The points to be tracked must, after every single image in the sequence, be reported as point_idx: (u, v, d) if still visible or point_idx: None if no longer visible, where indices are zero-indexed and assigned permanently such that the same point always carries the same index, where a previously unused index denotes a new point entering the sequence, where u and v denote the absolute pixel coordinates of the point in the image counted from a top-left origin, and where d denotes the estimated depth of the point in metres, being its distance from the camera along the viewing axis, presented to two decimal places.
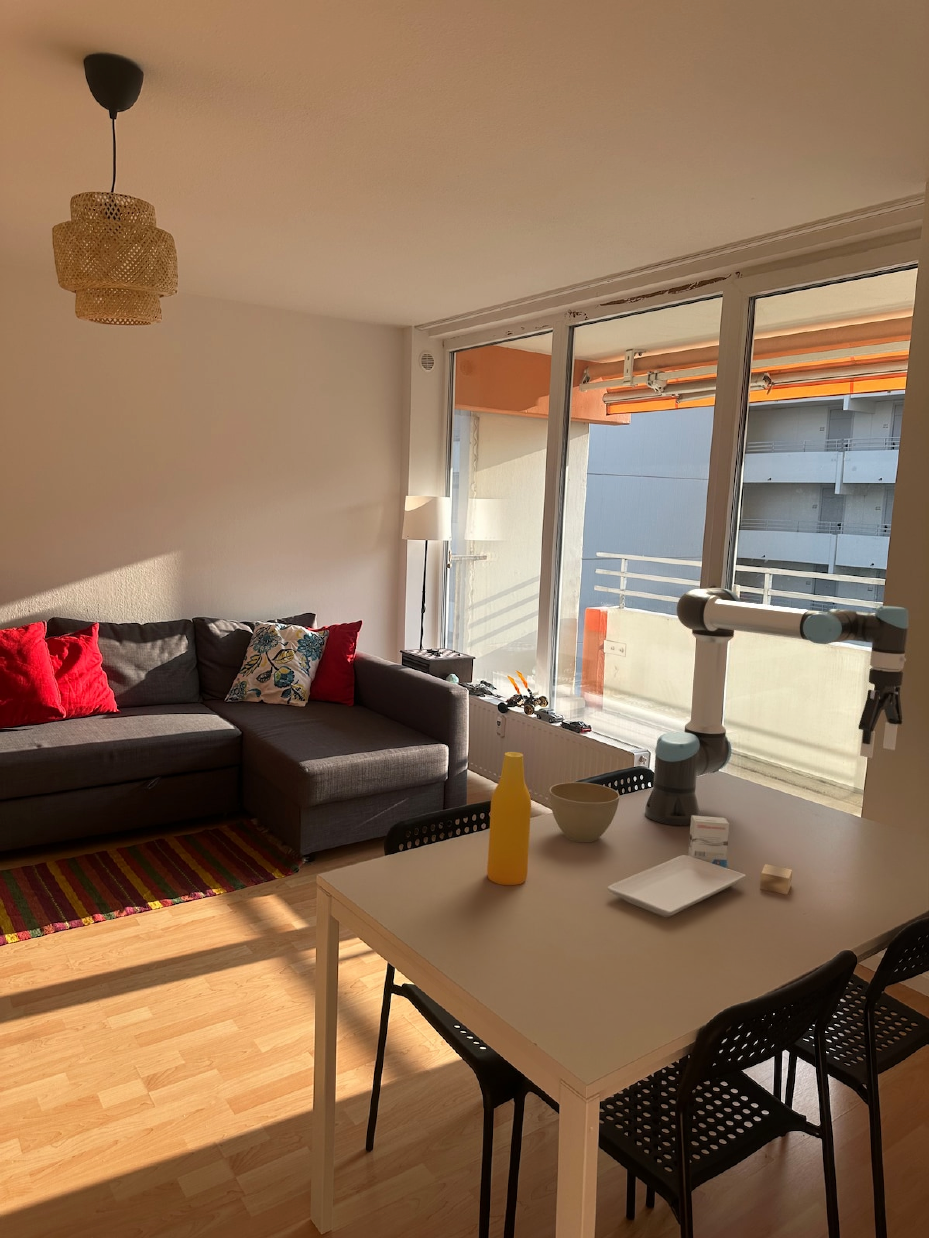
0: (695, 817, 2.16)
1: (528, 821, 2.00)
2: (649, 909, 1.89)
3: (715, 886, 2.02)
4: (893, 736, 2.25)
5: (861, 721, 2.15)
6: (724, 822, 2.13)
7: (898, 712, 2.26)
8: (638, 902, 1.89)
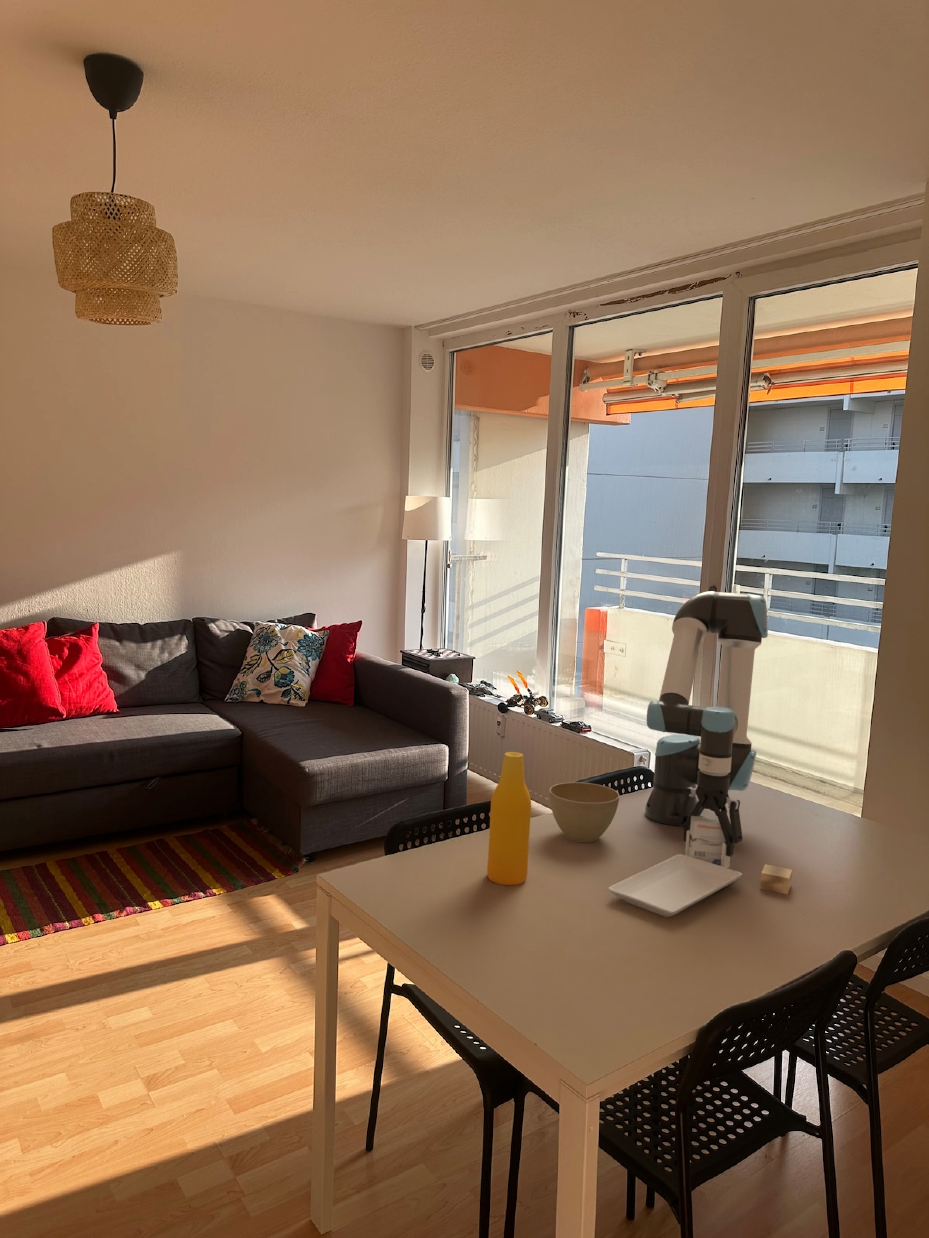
0: (695, 817, 2.16)
1: (528, 821, 2.00)
2: (651, 909, 1.89)
3: (713, 885, 2.02)
4: None
5: None
6: None
7: None
8: (640, 903, 1.88)
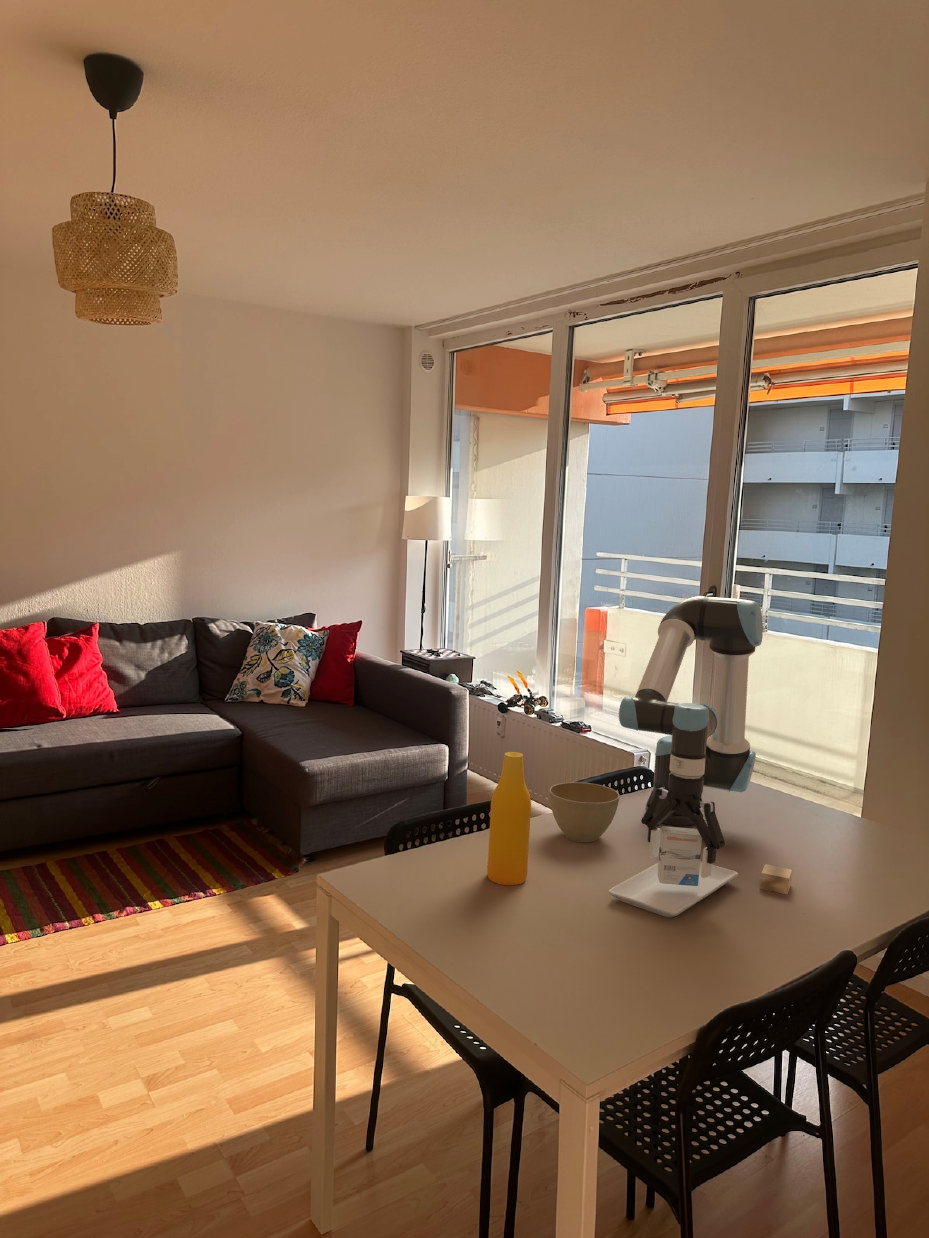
0: (665, 828, 1.99)
1: (528, 821, 2.00)
2: (652, 911, 1.89)
3: (710, 885, 2.03)
4: None
5: None
6: (696, 833, 1.96)
7: None
8: (641, 905, 1.88)
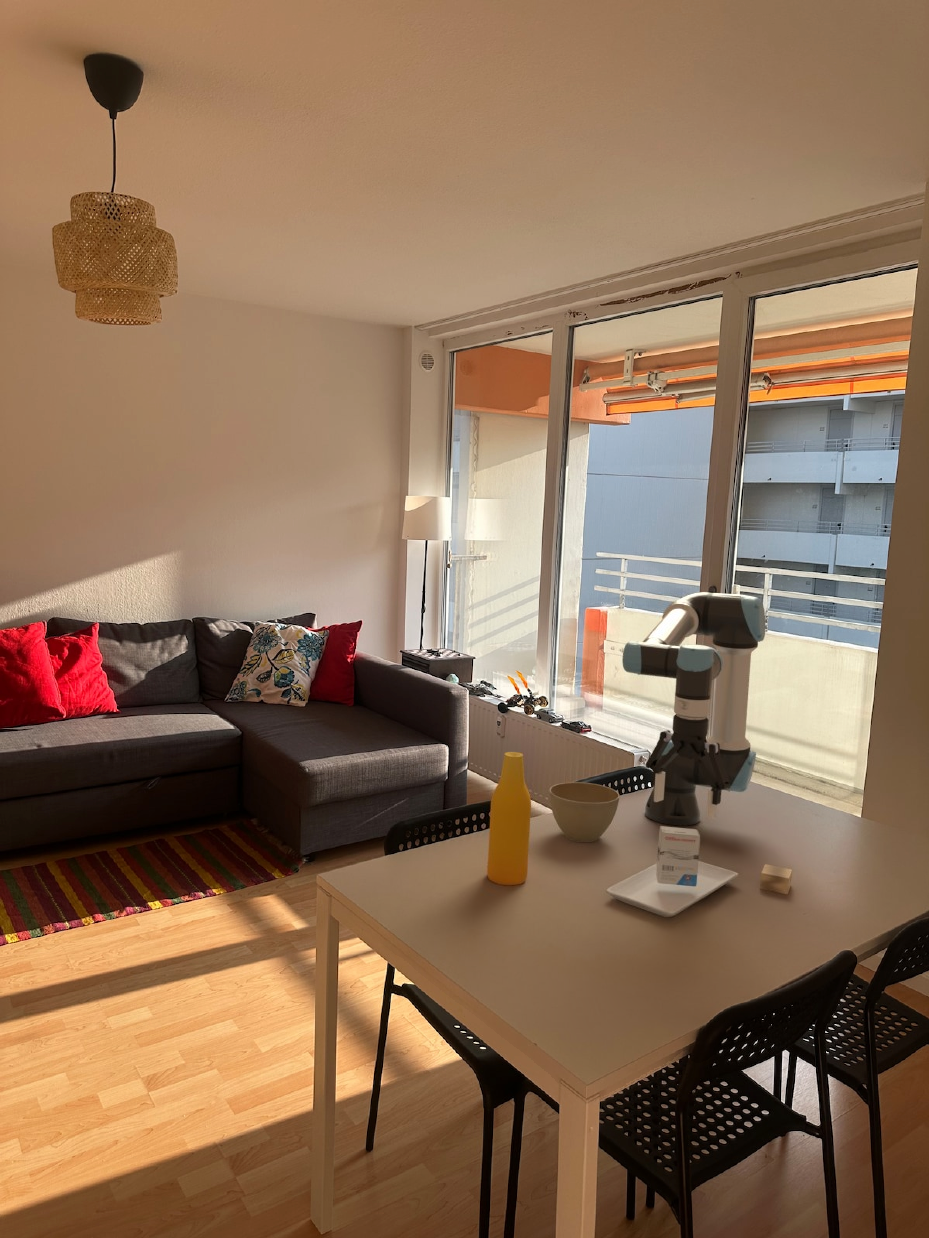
0: (663, 828, 1.99)
1: (528, 821, 2.00)
2: None
3: (709, 885, 2.03)
4: None
5: None
6: (695, 834, 1.96)
7: None
8: (638, 904, 1.89)
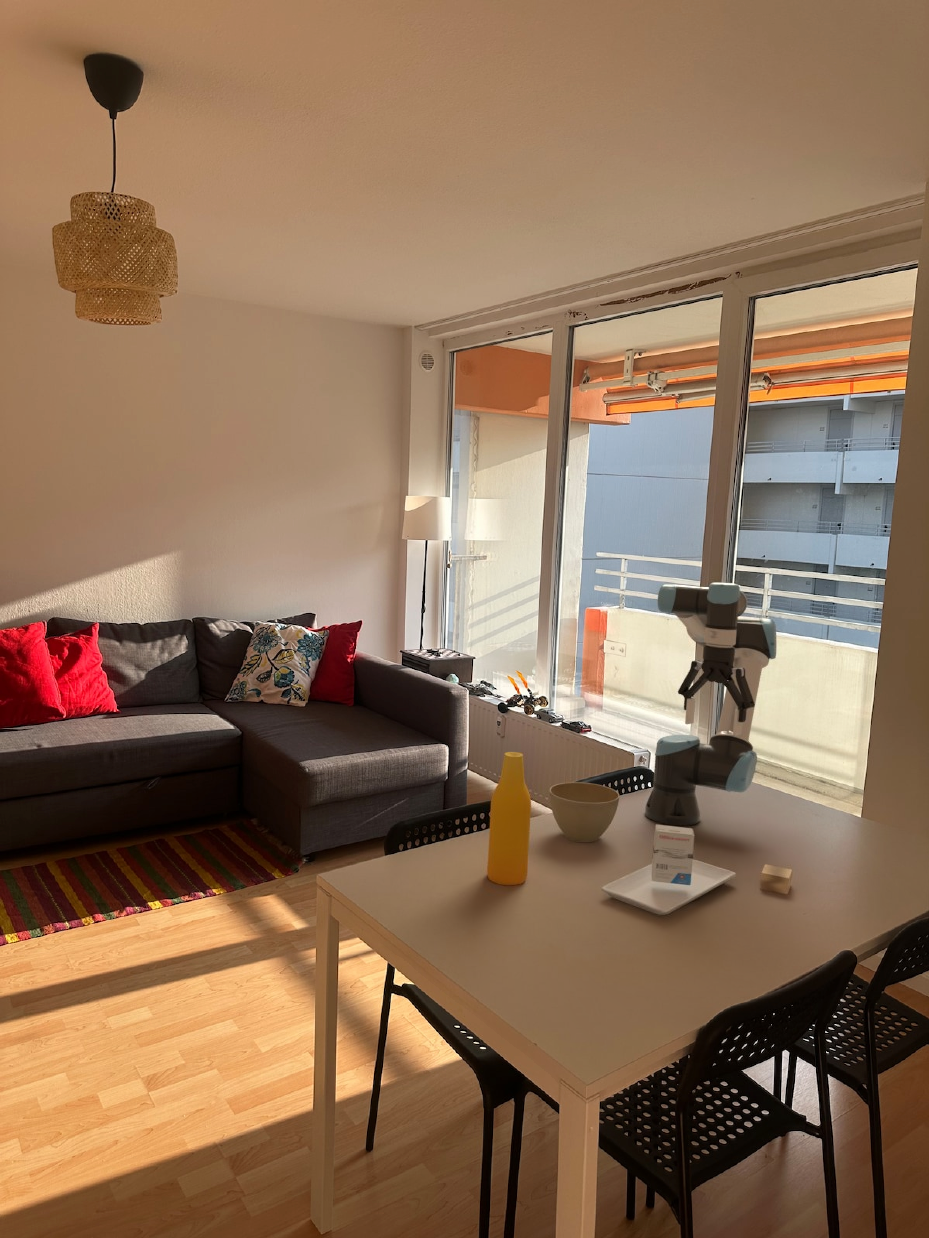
0: (658, 827, 2.00)
1: (528, 821, 2.00)
2: (644, 909, 1.90)
3: (706, 884, 2.03)
4: None
5: None
6: (689, 833, 1.96)
7: None
8: (633, 902, 1.89)
